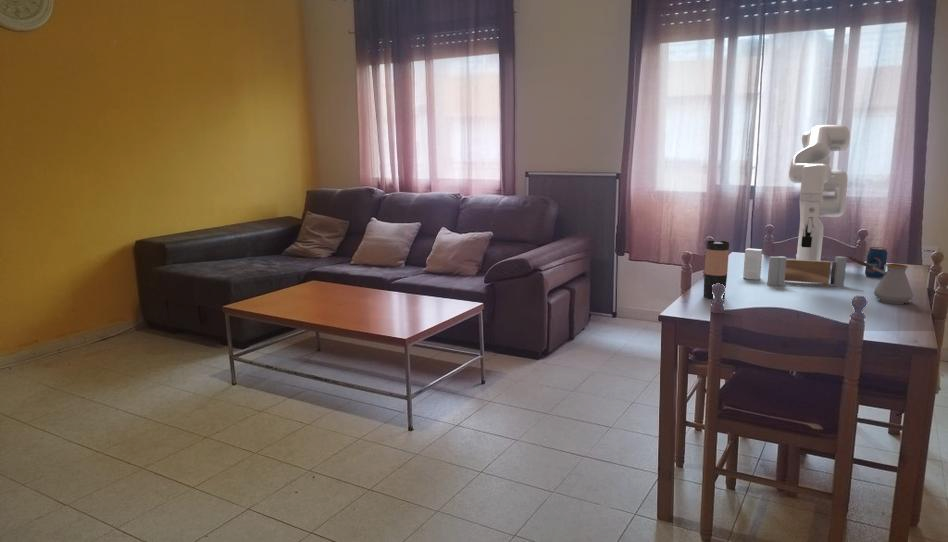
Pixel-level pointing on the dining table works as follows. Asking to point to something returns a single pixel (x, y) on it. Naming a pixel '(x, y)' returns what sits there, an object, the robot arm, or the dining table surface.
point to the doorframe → (778, 276)
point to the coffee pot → (891, 283)
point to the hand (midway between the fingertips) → (806, 246)
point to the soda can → (876, 262)
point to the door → (809, 271)
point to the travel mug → (715, 266)
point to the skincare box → (752, 263)
